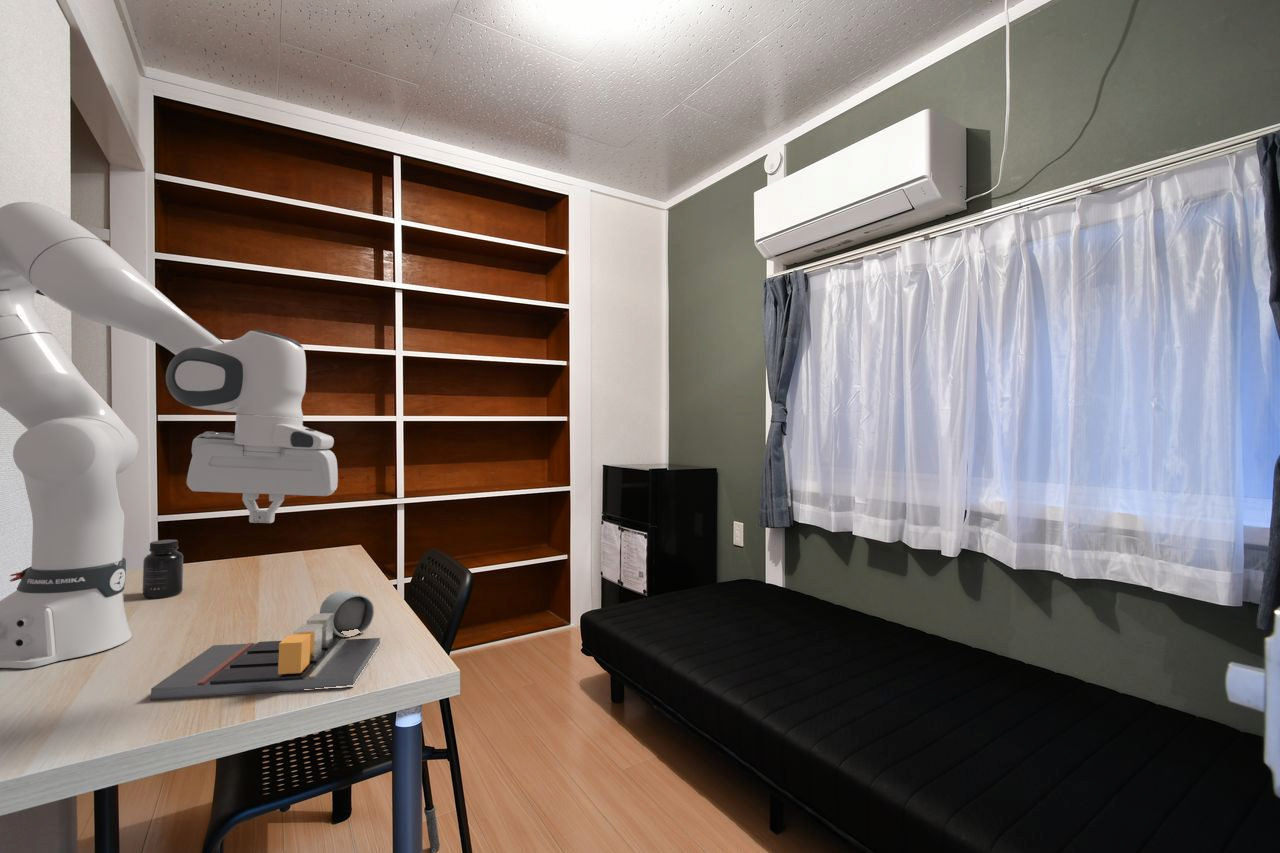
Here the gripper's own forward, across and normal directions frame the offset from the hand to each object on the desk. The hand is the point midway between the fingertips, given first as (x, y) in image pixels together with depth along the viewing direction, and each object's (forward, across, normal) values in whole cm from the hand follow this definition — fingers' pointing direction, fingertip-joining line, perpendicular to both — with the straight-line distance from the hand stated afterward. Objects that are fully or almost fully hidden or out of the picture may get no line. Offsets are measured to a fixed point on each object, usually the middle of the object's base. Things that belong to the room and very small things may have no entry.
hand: (261, 522), depth 88 cm
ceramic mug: (+23, +8, +16) cm, 29 cm away
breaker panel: (+23, +4, 0) cm, 24 cm away
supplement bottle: (+25, -37, +46) cm, 64 cm away
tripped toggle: (+21, +8, -5) cm, 23 cm away
